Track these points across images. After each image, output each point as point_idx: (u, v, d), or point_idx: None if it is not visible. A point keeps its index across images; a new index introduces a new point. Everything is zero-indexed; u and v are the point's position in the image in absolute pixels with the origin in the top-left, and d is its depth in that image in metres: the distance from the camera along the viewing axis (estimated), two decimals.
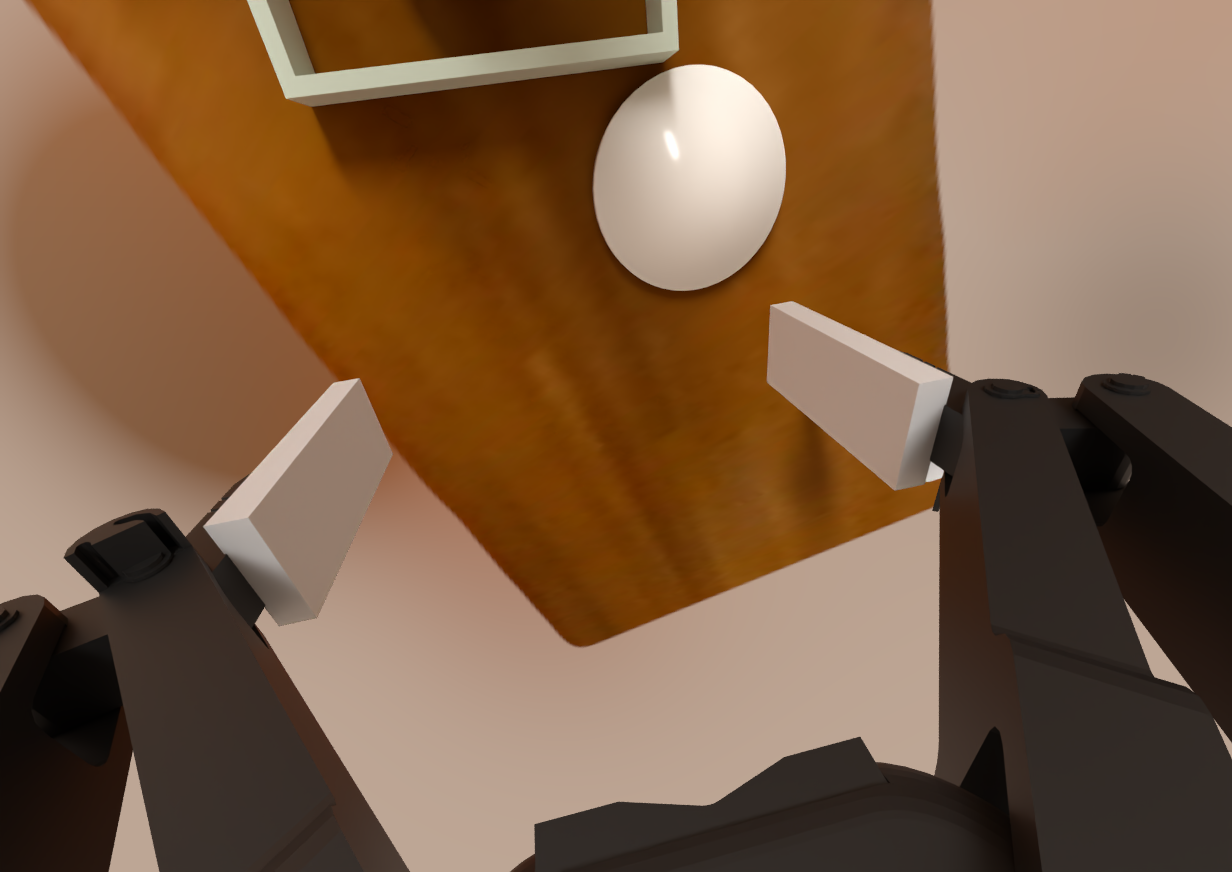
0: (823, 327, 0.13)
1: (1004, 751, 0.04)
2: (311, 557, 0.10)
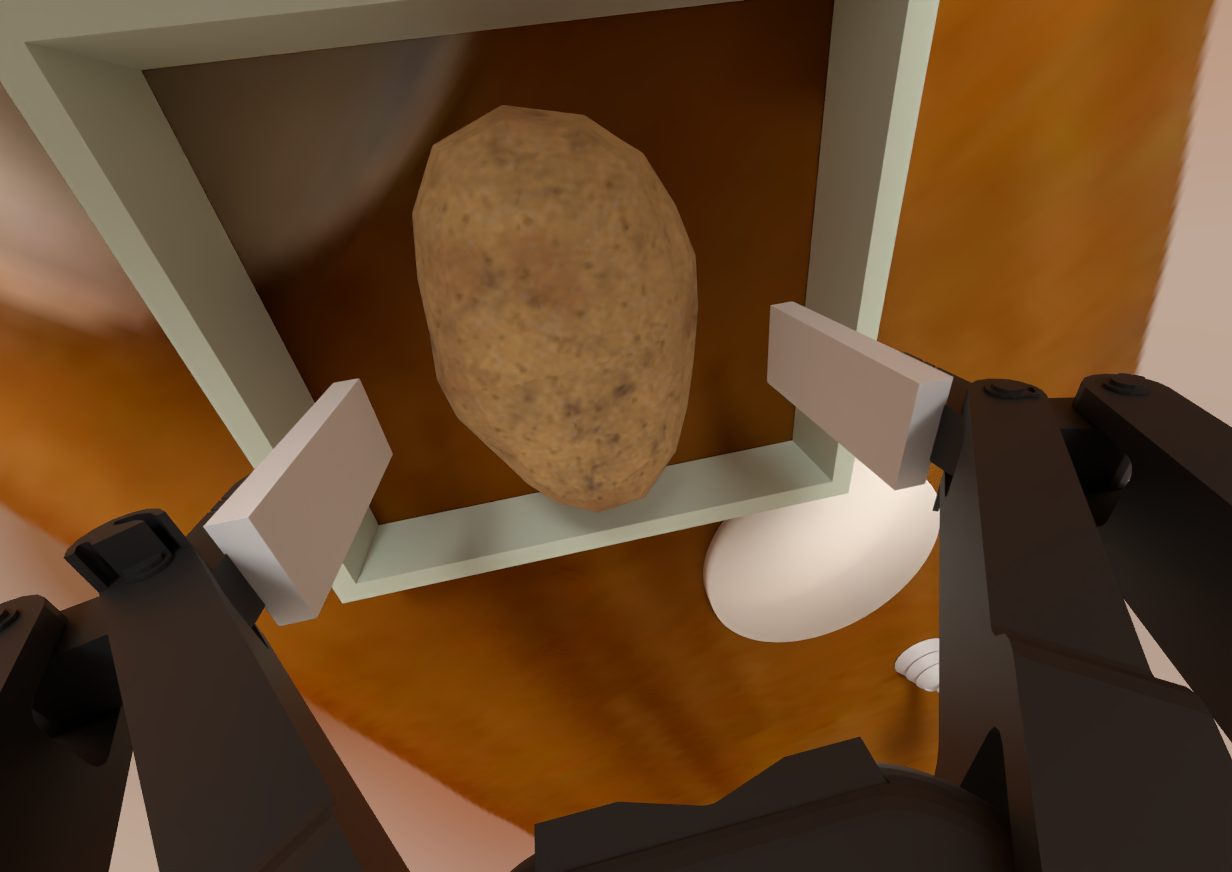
0: (823, 327, 0.13)
1: (1004, 751, 0.04)
2: (311, 557, 0.10)
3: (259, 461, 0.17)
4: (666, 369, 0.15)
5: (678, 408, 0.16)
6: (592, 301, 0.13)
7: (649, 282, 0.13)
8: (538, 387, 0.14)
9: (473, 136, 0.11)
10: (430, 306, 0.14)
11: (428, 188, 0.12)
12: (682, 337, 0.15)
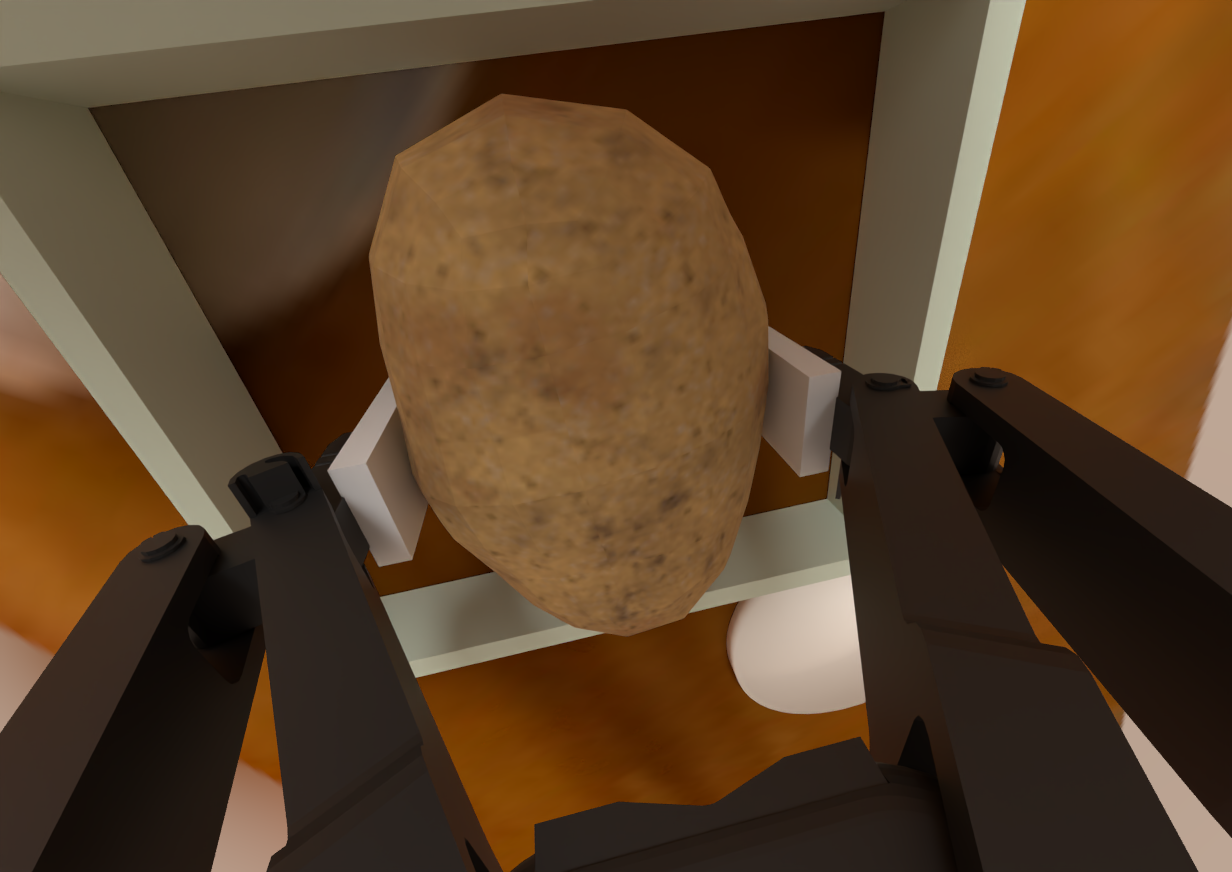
0: None
1: (930, 740, 0.04)
2: (405, 506, 0.11)
3: None
4: (730, 466, 0.11)
5: (740, 508, 0.12)
6: (636, 388, 0.08)
7: (716, 353, 0.09)
8: (553, 506, 0.09)
9: (455, 142, 0.07)
10: (396, 388, 0.09)
11: (386, 222, 0.08)
12: (752, 420, 0.11)
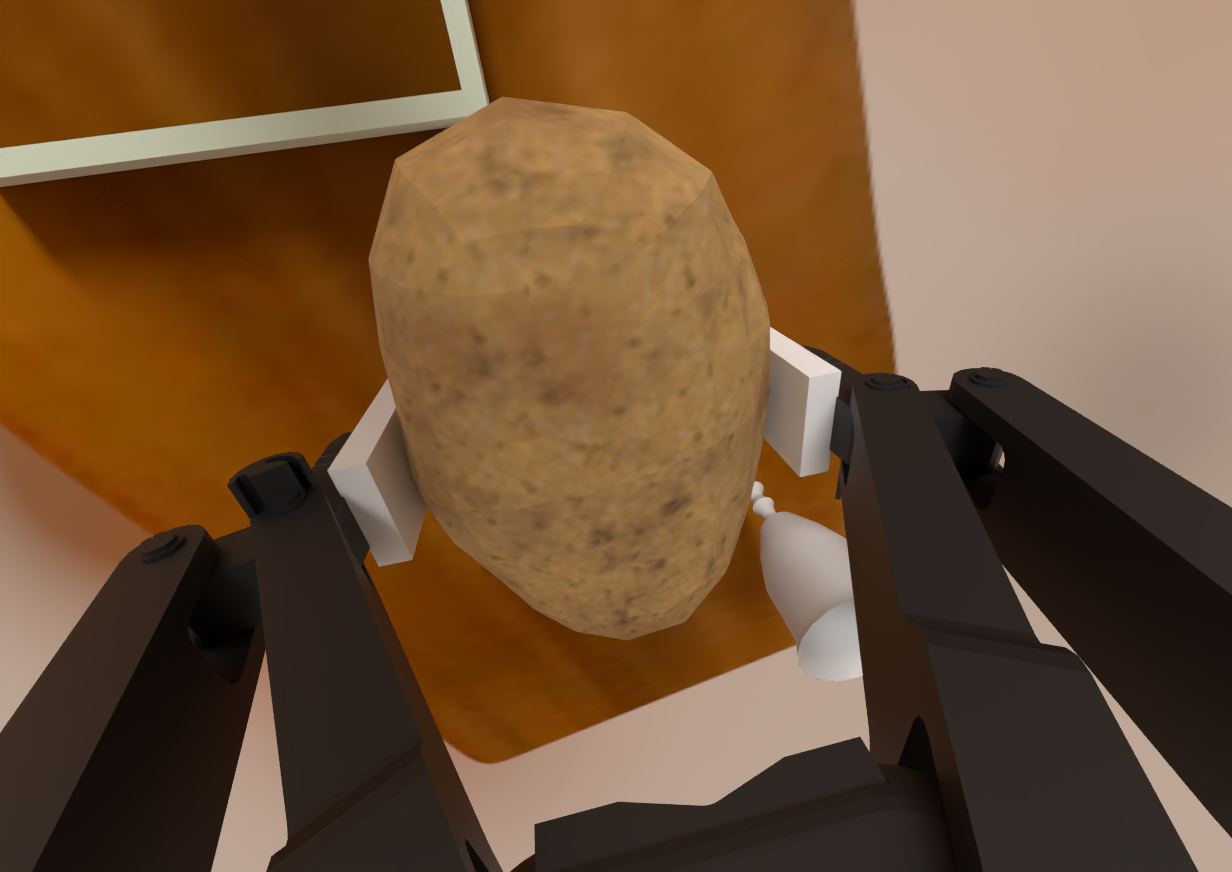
0: None
1: (930, 741, 0.04)
2: (405, 506, 0.11)
3: None
4: (732, 469, 0.11)
5: (741, 512, 0.12)
6: (637, 393, 0.08)
7: (718, 357, 0.09)
8: (554, 511, 0.09)
9: (455, 145, 0.07)
10: (396, 392, 0.09)
11: (386, 226, 0.08)
12: (754, 424, 0.11)
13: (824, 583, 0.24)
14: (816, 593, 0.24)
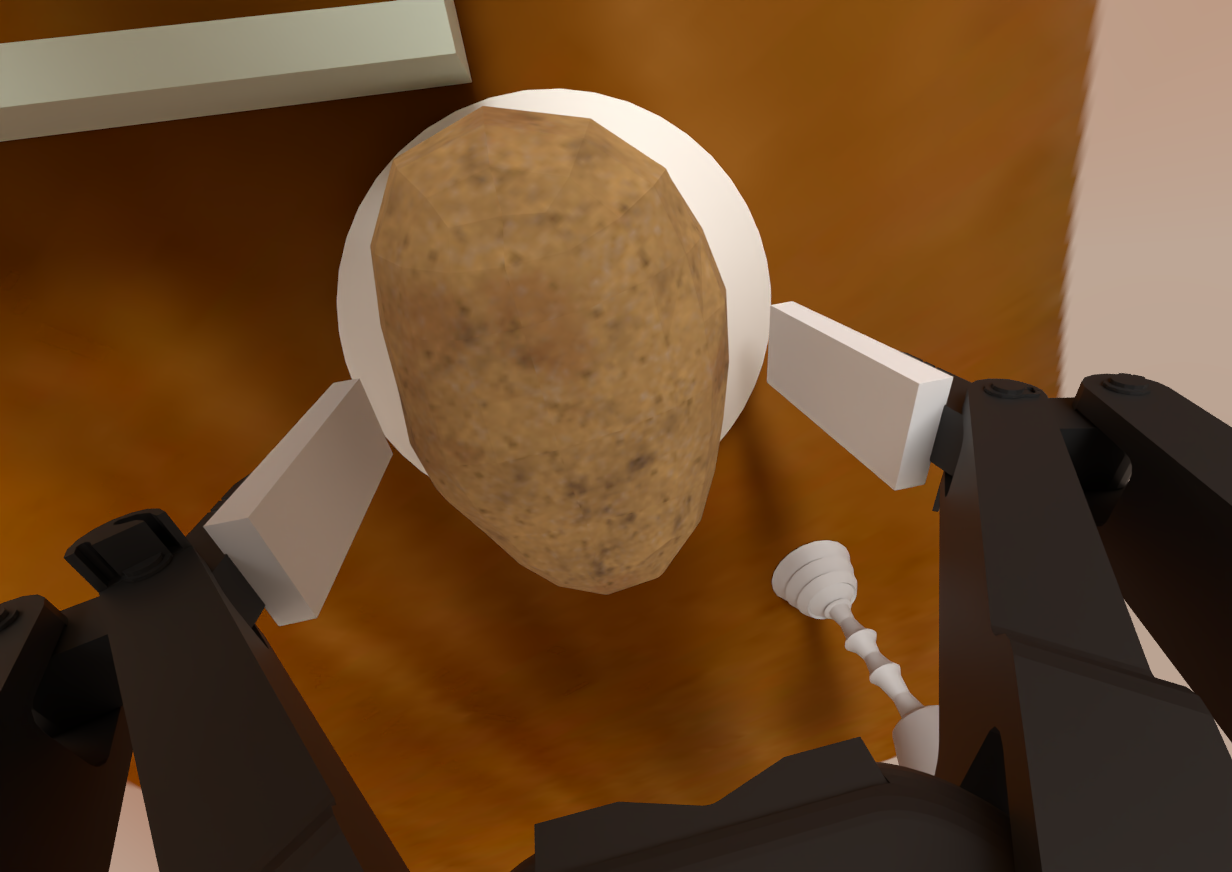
0: (823, 327, 0.13)
1: (1004, 750, 0.04)
2: (311, 557, 0.10)
3: None
4: (693, 432, 0.12)
5: (705, 474, 0.13)
6: (601, 358, 0.10)
7: (674, 330, 0.11)
8: (532, 463, 0.11)
9: (443, 147, 0.08)
10: (395, 362, 0.11)
11: (385, 215, 0.09)
12: (712, 392, 0.12)
13: None
14: None
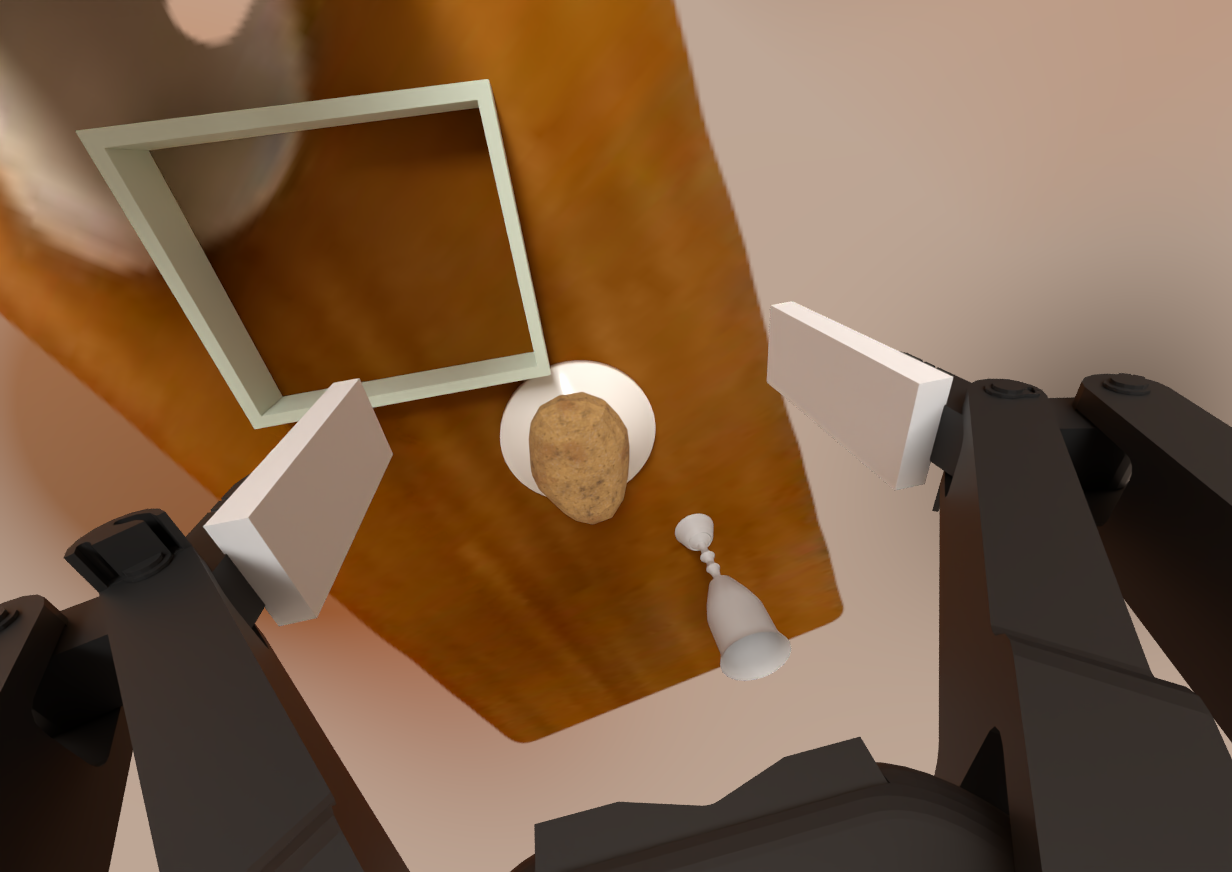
0: (823, 327, 0.13)
1: (1004, 750, 0.04)
2: (311, 557, 0.10)
3: (204, 336, 0.35)
4: (615, 473, 0.42)
5: (622, 485, 0.44)
6: (588, 457, 0.40)
7: (607, 448, 0.41)
8: (571, 482, 0.41)
9: (553, 414, 0.39)
10: (535, 456, 0.41)
11: (539, 426, 0.39)
12: (621, 461, 0.42)
13: (735, 625, 0.43)
14: (731, 631, 0.43)
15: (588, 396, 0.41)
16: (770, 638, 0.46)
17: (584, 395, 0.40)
